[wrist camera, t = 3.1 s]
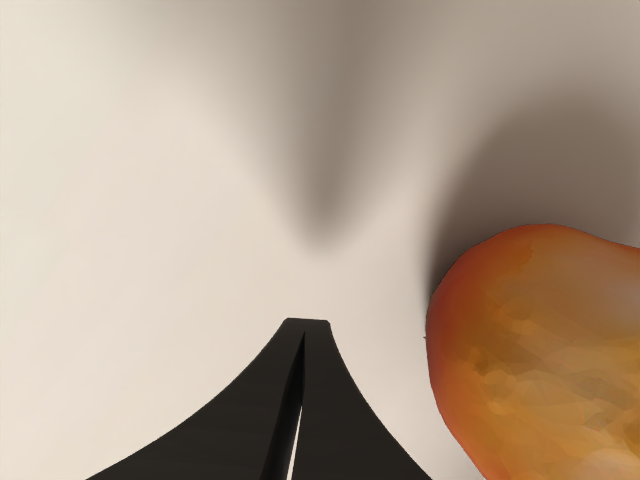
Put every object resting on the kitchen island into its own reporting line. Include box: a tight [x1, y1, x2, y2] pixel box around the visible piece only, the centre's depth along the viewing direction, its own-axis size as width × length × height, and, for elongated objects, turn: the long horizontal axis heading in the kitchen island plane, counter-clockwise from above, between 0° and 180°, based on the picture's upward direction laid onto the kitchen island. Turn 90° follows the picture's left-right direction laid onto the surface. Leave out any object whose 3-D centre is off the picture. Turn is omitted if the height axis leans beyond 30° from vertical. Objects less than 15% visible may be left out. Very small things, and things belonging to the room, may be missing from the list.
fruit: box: [423, 224, 640, 480], centre depth 11 cm, size 8×8×8 cm
